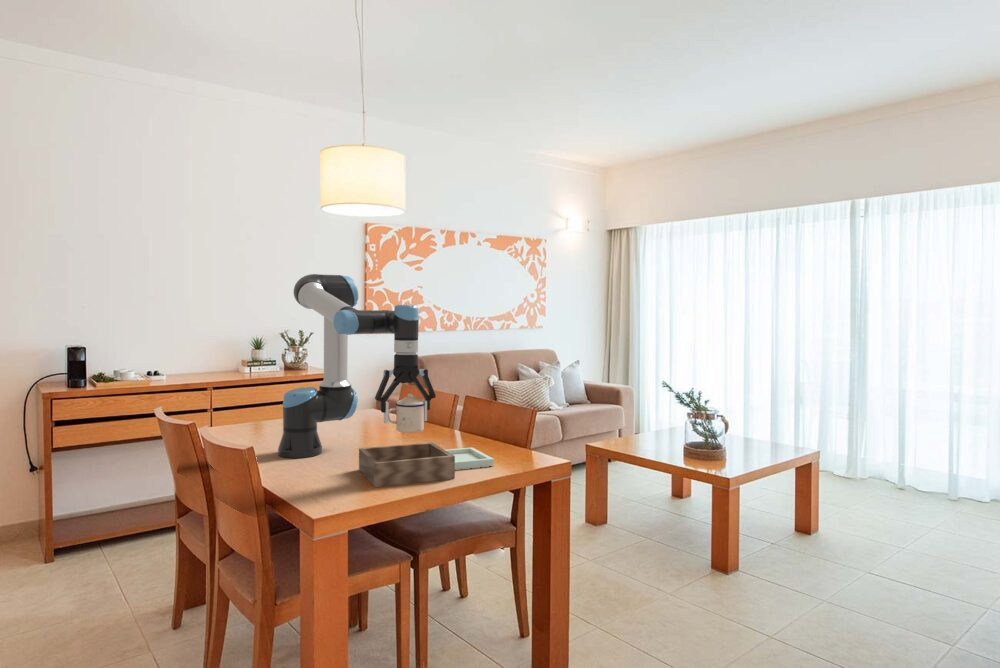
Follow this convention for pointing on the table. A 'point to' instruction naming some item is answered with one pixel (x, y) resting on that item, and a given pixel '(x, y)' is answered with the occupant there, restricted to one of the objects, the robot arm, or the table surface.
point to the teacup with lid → (409, 415)
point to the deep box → (406, 464)
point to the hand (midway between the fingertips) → (405, 421)
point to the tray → (470, 458)
